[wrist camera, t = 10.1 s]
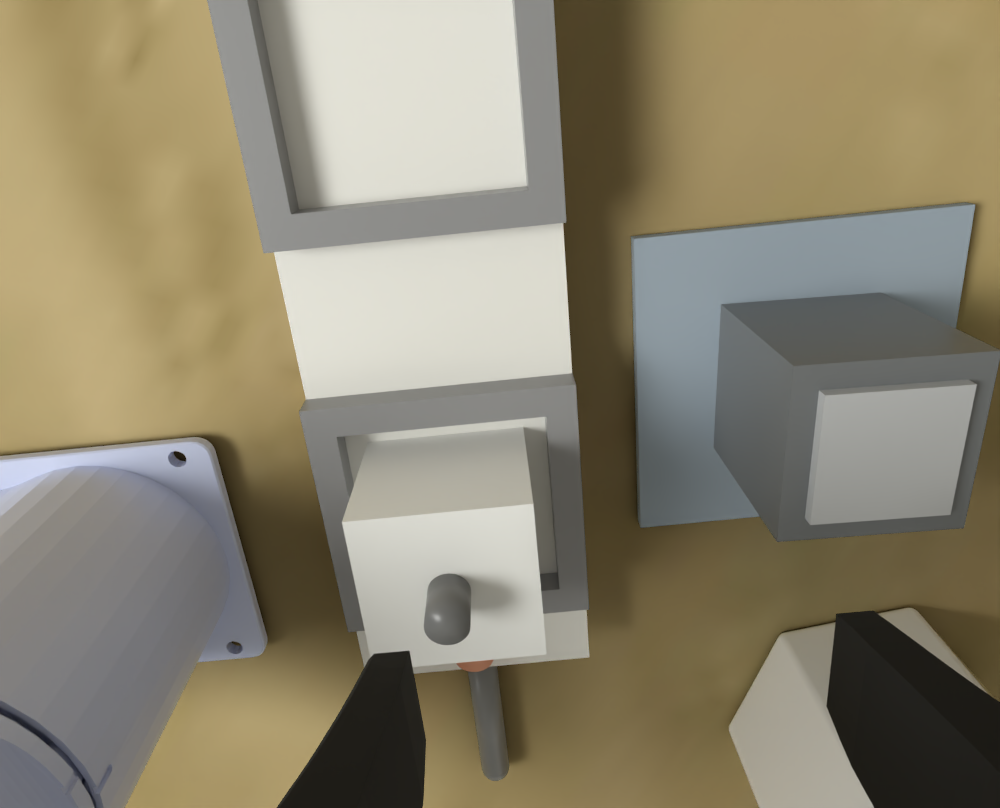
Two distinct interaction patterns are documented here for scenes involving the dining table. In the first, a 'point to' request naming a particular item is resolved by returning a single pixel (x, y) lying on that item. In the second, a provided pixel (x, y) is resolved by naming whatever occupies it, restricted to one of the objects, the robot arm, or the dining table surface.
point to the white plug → (447, 548)
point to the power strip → (420, 255)
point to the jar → (810, 719)
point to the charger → (850, 414)
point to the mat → (751, 278)
